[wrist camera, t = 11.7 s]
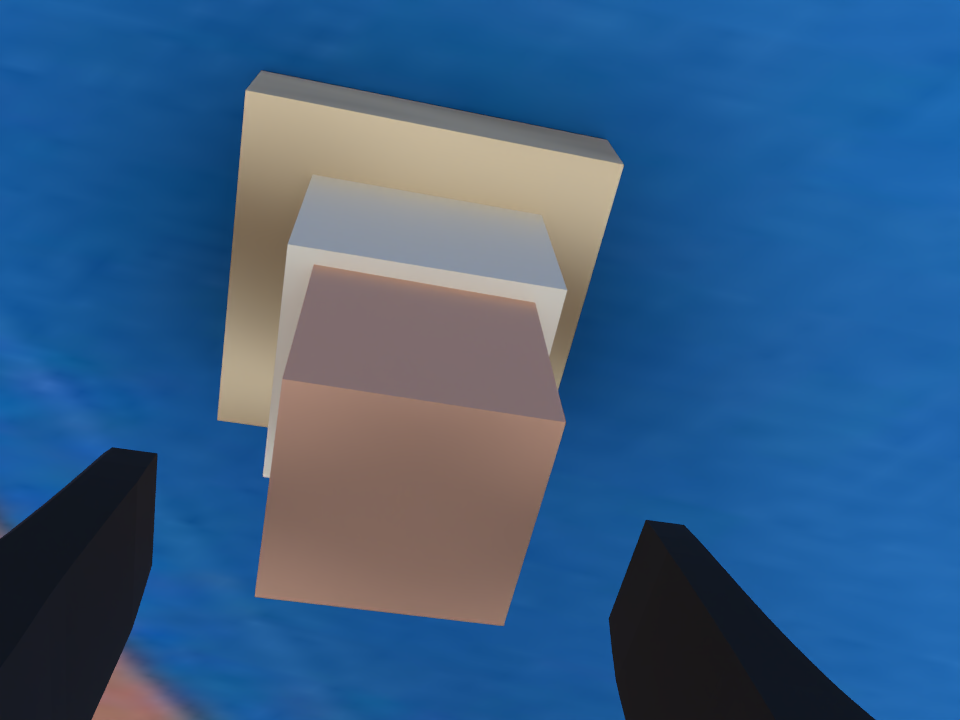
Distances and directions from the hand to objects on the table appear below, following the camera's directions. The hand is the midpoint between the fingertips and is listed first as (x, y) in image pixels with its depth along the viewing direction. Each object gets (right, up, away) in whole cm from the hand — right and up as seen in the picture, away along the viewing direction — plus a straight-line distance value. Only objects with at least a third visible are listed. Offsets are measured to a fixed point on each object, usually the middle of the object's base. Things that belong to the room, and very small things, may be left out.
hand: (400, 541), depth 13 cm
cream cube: (0, +4, +7) cm, 8 cm away
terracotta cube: (0, +2, +4) cm, 4 cm away
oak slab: (-1, +5, +9) cm, 10 cm away
